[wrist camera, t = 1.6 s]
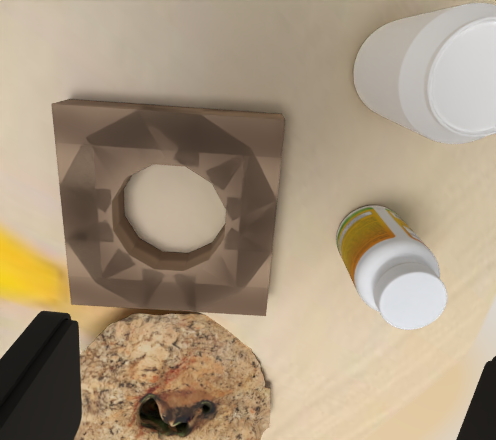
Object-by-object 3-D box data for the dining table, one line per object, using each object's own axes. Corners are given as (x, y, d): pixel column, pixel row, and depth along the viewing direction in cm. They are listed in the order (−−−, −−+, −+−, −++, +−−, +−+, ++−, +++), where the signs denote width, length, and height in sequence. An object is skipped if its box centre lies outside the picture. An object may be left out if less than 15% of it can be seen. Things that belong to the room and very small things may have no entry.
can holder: (69, 99, 30) (51, 103, 27) (281, 113, 30) (285, 120, 27) (85, 284, 35) (71, 304, 33) (264, 295, 36) (265, 315, 33)
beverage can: (347, 27, 28) (412, 10, 17) (442, 12, 28) (571, -15, 17) (352, 121, 30) (412, 161, 19) (439, 108, 30) (552, 141, 19)
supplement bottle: (330, 262, 35) (358, 336, 26) (341, 200, 33) (377, 257, 24) (395, 268, 35) (446, 344, 26) (410, 207, 33) (471, 265, 24)
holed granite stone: (247, 288, 43) (281, 313, 36) (241, 420, 45) (273, 469, 38) (52, 303, 36) (47, 337, 29) (54, 459, 38) (50, 527, 31)
